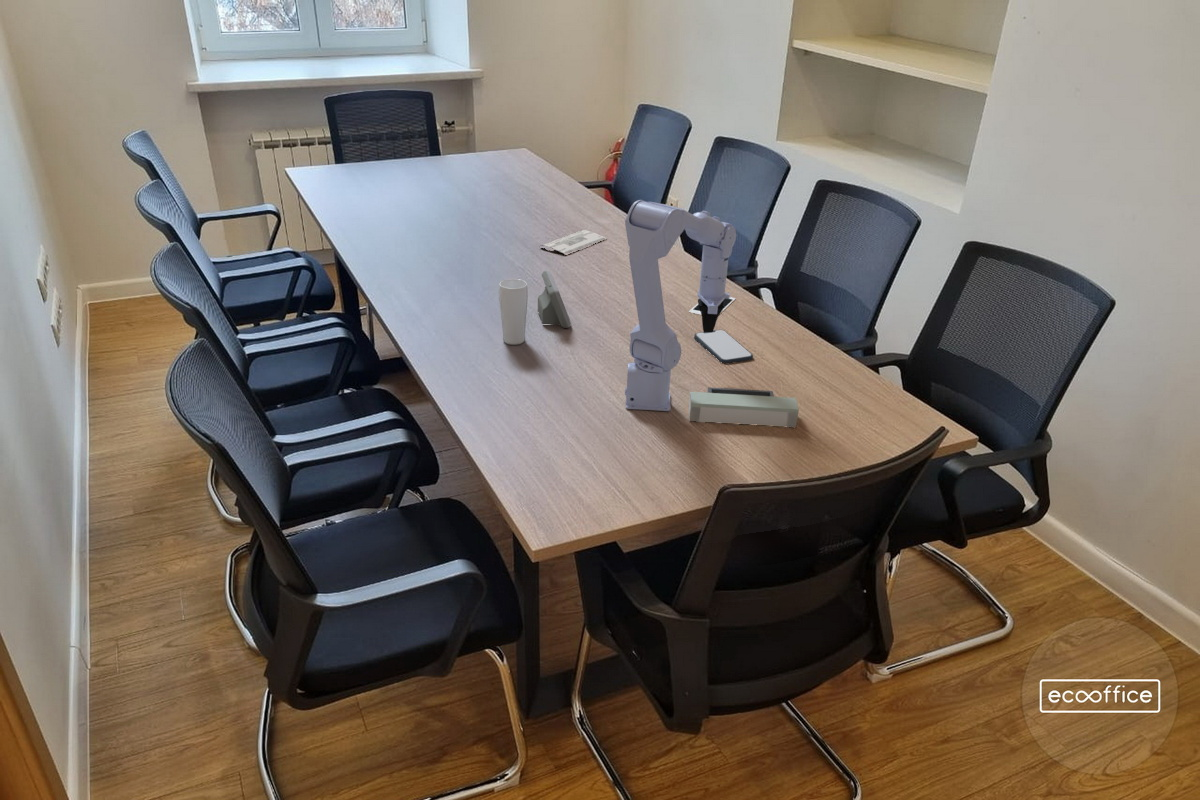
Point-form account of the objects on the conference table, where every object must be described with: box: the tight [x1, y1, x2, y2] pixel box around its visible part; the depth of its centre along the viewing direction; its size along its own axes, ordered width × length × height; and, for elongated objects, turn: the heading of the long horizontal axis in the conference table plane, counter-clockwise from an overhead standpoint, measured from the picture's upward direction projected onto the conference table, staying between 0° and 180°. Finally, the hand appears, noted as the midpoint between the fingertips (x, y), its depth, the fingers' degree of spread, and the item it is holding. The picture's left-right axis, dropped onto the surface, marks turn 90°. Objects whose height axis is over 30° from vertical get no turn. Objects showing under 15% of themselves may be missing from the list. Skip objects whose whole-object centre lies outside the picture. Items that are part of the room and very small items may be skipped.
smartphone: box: [693, 329, 754, 364], centre depth 214 cm, size 9×2×16 cm
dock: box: [688, 391, 800, 428], centre depth 183 cm, size 22×6×4 cm, turn 86°
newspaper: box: [540, 229, 608, 255], centre depth 280 cm, size 23×12×2 cm, turn 143°
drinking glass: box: [498, 278, 529, 346], centre depth 210 cm, size 7×7×15 cm
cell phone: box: [688, 296, 736, 316], centre depth 238 cm, size 8×16×1 cm, turn 153°
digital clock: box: [537, 270, 572, 329], centre depth 224 cm, size 16×9×11 cm, turn 0°
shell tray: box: [706, 386, 775, 397], centre depth 187 cm, size 14×8×3 cm, turn 87°
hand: (707, 331), depth 198 cm, fingers closed
